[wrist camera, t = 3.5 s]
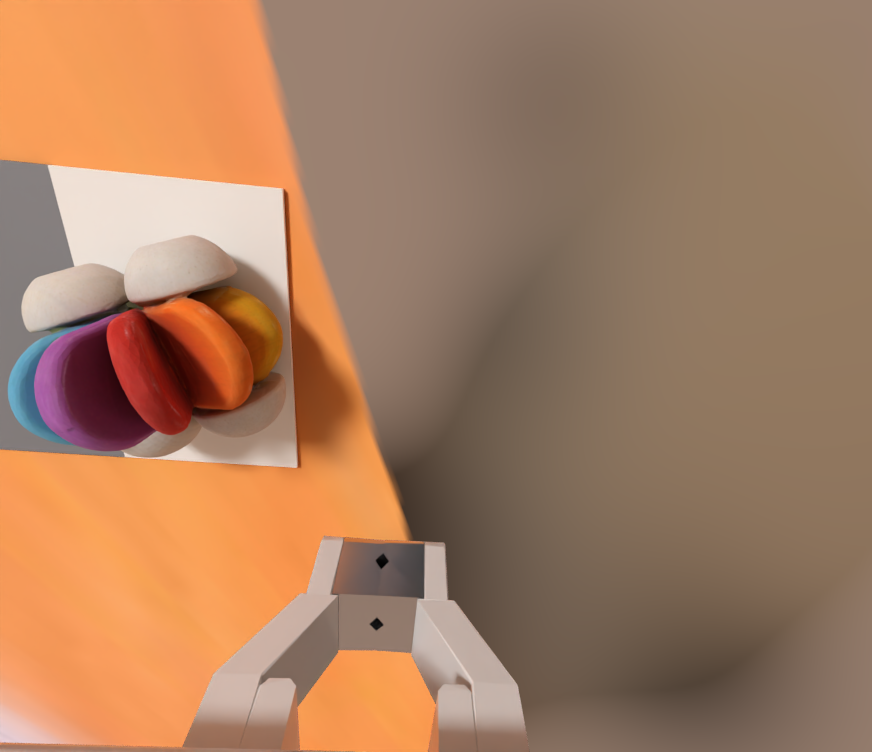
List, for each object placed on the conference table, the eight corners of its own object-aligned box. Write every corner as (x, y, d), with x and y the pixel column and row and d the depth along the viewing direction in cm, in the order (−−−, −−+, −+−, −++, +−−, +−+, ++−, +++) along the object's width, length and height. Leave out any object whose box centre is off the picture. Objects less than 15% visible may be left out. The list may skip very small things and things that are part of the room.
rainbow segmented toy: (322, 391, 22) (278, 489, 15) (144, 433, 22) (30, 544, 16) (249, 215, 18) (149, 246, 11) (40, 274, 19) (-164, 333, 12)
